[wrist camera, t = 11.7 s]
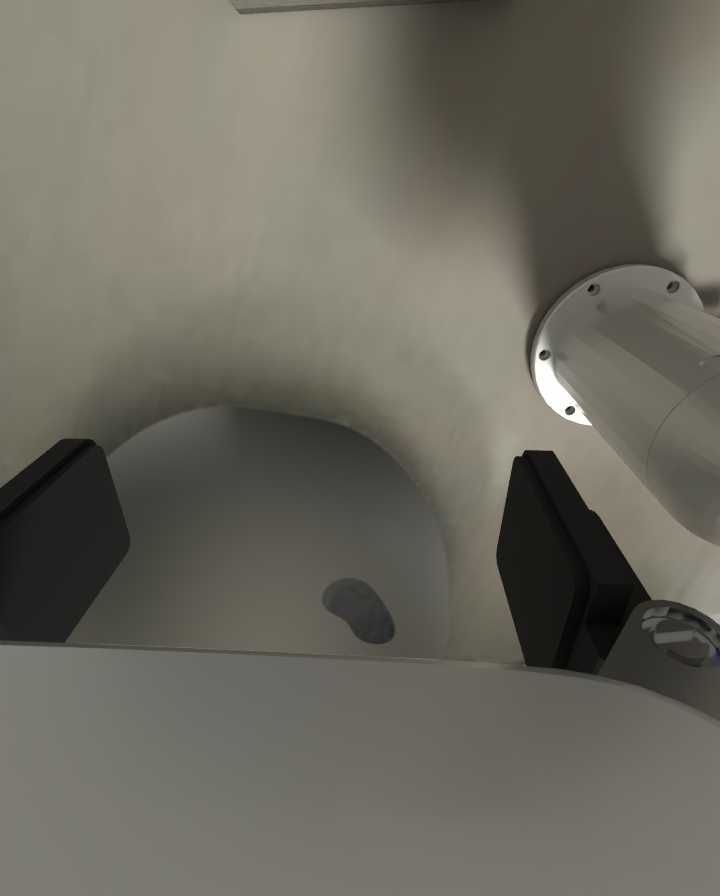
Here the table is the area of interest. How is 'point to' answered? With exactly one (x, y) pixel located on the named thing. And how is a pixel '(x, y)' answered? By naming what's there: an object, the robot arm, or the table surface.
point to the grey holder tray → (315, 4)
